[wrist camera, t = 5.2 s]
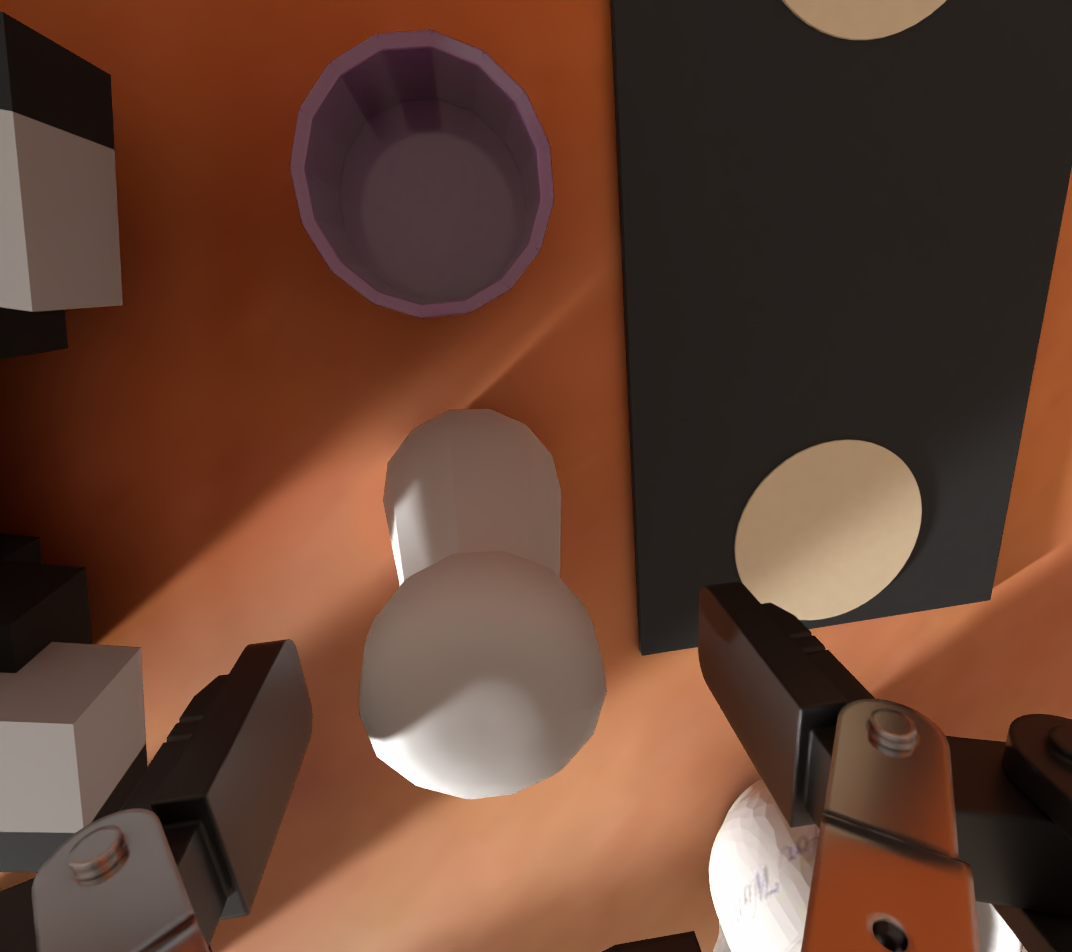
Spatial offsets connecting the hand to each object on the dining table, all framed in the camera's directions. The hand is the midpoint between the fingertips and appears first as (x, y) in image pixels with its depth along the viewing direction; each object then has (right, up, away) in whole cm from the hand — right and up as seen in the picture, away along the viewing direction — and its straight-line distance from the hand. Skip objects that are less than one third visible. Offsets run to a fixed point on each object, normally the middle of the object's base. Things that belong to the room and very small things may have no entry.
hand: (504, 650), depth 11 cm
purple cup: (-3, +12, +7) cm, 14 cm away
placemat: (+12, +11, +9) cm, 18 cm away
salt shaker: (-2, +4, +10) cm, 11 cm away
